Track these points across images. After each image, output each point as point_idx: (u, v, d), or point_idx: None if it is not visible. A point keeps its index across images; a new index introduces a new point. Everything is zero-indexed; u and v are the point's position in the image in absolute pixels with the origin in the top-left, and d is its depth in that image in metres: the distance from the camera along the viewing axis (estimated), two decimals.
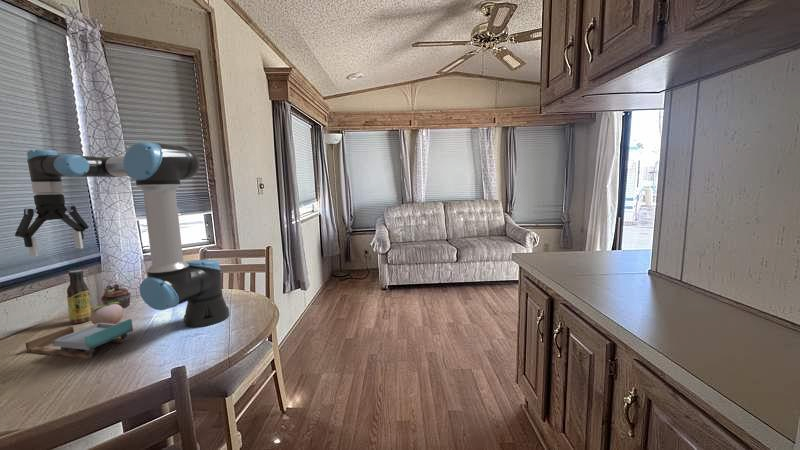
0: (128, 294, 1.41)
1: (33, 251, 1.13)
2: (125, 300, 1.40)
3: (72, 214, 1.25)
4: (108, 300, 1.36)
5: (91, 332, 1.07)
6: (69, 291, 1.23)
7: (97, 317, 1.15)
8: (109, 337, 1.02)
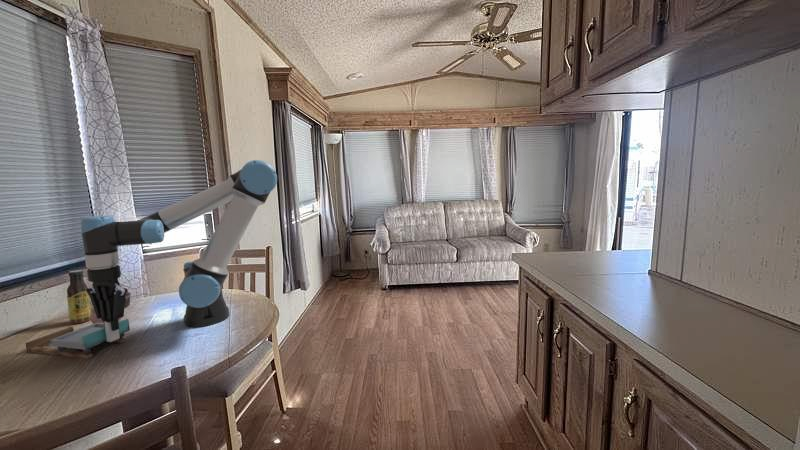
0: (128, 294, 1.41)
1: None
2: (125, 300, 1.40)
3: None
4: None
5: (88, 332, 1.07)
6: (69, 291, 1.23)
7: None
8: None
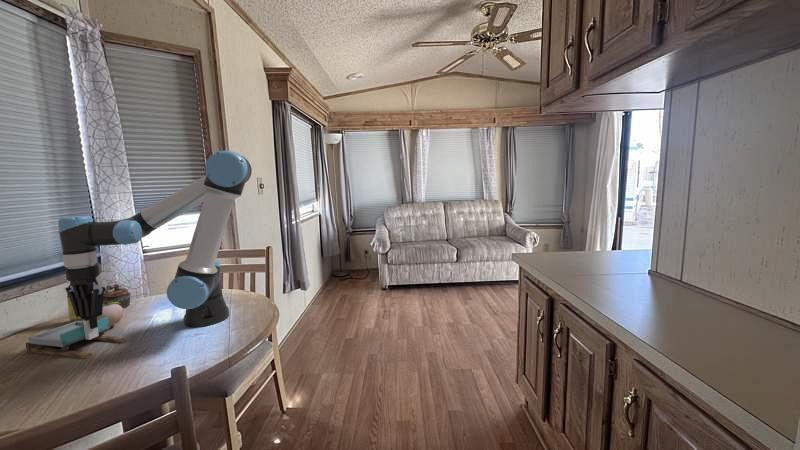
0: (128, 294, 1.41)
1: None
2: (125, 300, 1.40)
3: None
4: (108, 300, 1.36)
5: (68, 330, 1.09)
6: None
7: (97, 317, 1.15)
8: (84, 335, 1.05)
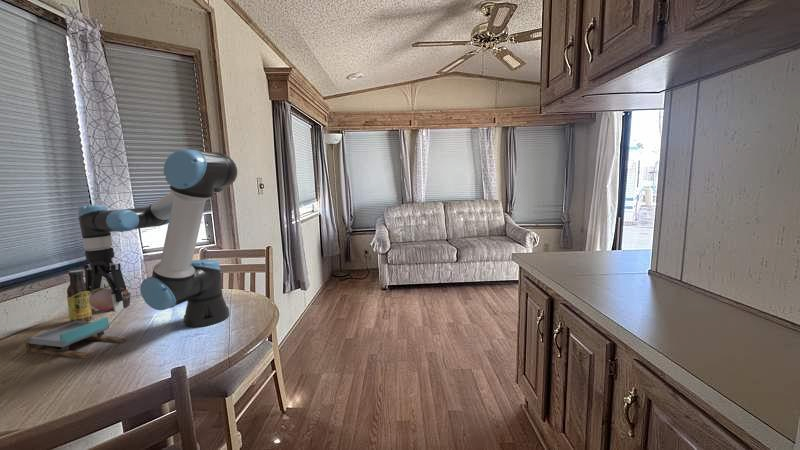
0: (128, 294, 1.41)
1: None
2: (125, 300, 1.40)
3: None
4: None
5: (68, 330, 1.09)
6: (69, 291, 1.23)
7: (95, 299, 1.14)
8: (84, 335, 1.05)
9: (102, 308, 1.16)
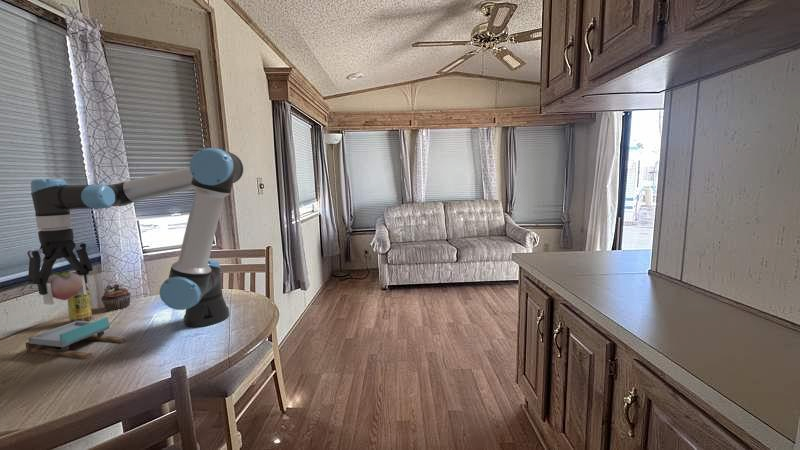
0: (128, 294, 1.41)
1: (48, 299, 1.00)
2: (125, 300, 1.40)
3: (79, 252, 1.09)
4: (108, 300, 1.36)
5: (68, 330, 1.09)
6: None
7: (77, 281, 1.04)
8: (84, 335, 1.05)
9: (76, 292, 1.05)
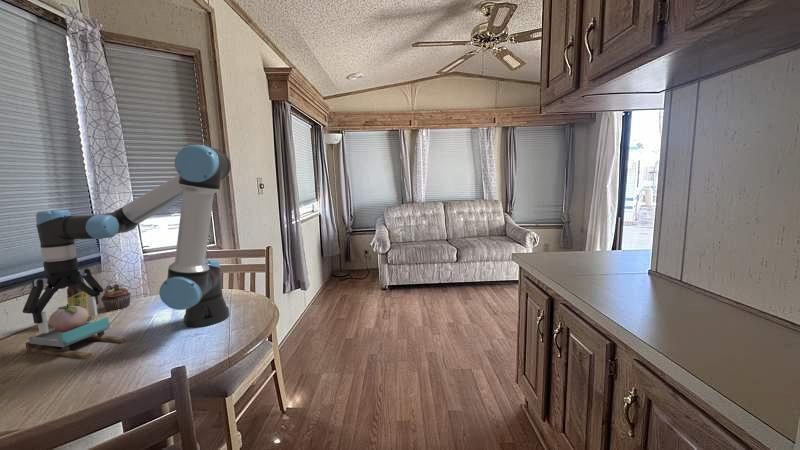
0: (128, 294, 1.41)
1: (43, 327, 0.99)
2: (125, 300, 1.40)
3: (86, 277, 1.10)
4: (108, 300, 1.36)
5: None
6: (69, 291, 1.23)
7: (83, 316, 1.06)
8: (85, 335, 1.05)
9: None
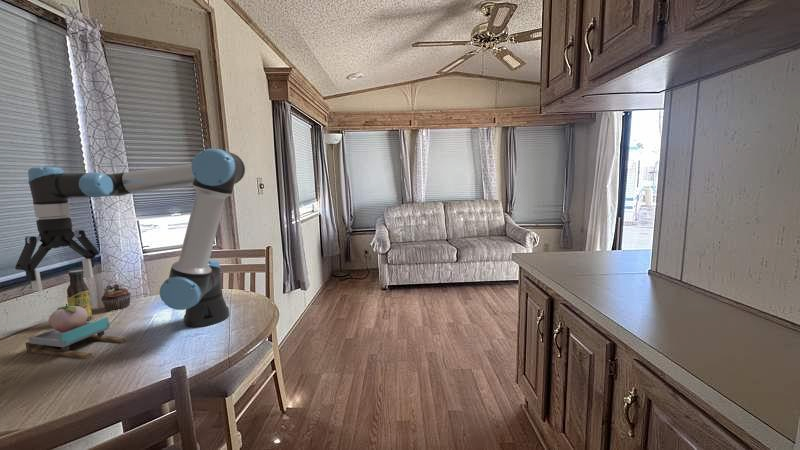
0: (128, 294, 1.41)
1: (37, 285, 0.97)
2: (125, 300, 1.40)
3: (80, 239, 1.09)
4: (108, 300, 1.36)
5: None
6: (69, 291, 1.23)
7: (82, 315, 1.06)
8: (85, 335, 1.05)
9: None
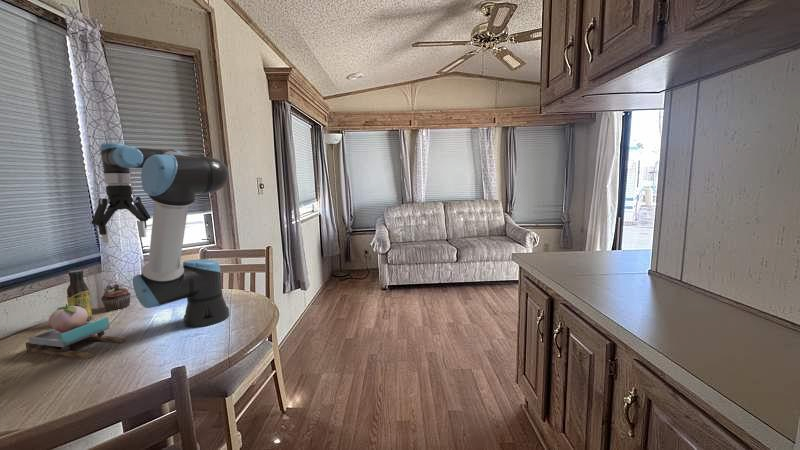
0: (128, 294, 1.41)
1: (106, 238, 1.20)
2: (125, 300, 1.40)
3: (137, 204, 1.32)
4: (108, 300, 1.36)
5: None
6: (69, 291, 1.23)
7: (82, 316, 1.06)
8: (85, 335, 1.05)
9: None
